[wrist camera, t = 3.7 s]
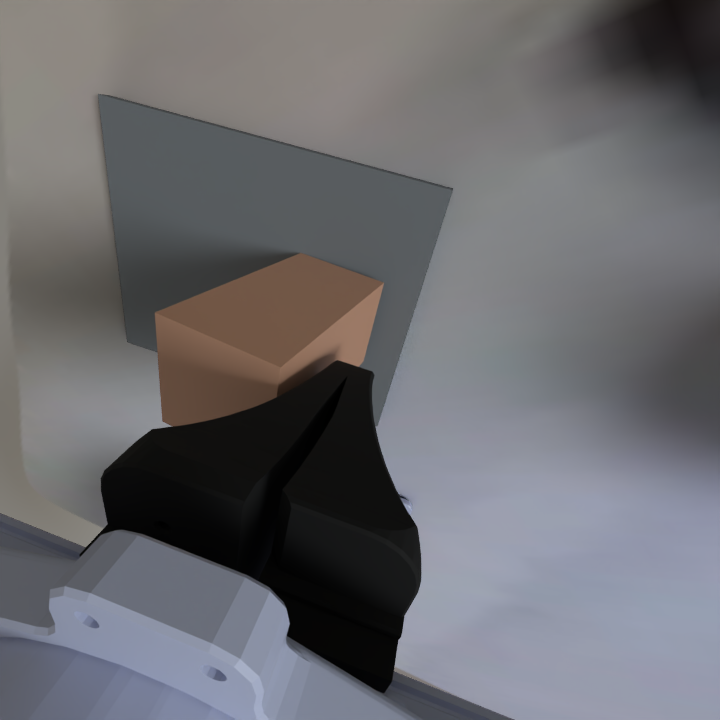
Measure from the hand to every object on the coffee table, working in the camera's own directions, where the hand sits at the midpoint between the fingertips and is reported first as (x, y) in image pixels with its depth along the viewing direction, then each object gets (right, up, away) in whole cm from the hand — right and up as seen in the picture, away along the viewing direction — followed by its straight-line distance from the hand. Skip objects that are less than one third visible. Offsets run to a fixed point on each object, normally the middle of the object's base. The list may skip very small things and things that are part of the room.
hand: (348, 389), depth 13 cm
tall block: (-1, +3, +5) cm, 6 cm away
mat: (-4, +5, +6) cm, 9 cm away
